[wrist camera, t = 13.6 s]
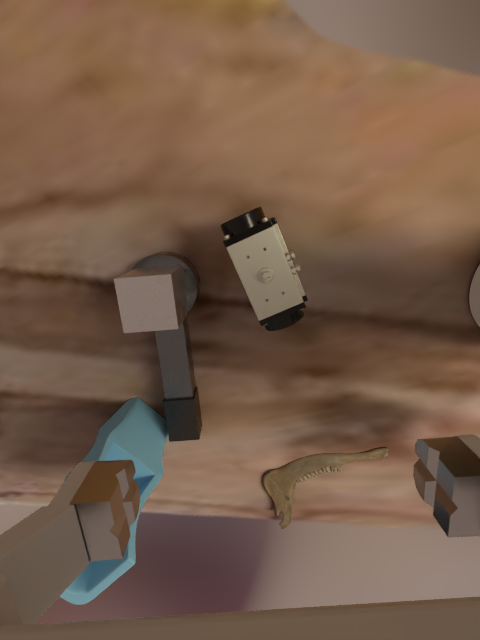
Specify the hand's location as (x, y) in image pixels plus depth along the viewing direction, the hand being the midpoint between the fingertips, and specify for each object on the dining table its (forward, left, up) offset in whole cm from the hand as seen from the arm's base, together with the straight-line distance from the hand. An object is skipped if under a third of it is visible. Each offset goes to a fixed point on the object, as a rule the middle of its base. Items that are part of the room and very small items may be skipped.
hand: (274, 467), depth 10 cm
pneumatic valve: (-2, -2, -34) cm, 34 cm away
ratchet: (+10, +8, -34) cm, 36 cm away
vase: (+17, +20, -34) cm, 44 cm away
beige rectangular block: (+10, 0, -31) cm, 32 cm away
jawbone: (-10, +32, -35) cm, 49 cm away
